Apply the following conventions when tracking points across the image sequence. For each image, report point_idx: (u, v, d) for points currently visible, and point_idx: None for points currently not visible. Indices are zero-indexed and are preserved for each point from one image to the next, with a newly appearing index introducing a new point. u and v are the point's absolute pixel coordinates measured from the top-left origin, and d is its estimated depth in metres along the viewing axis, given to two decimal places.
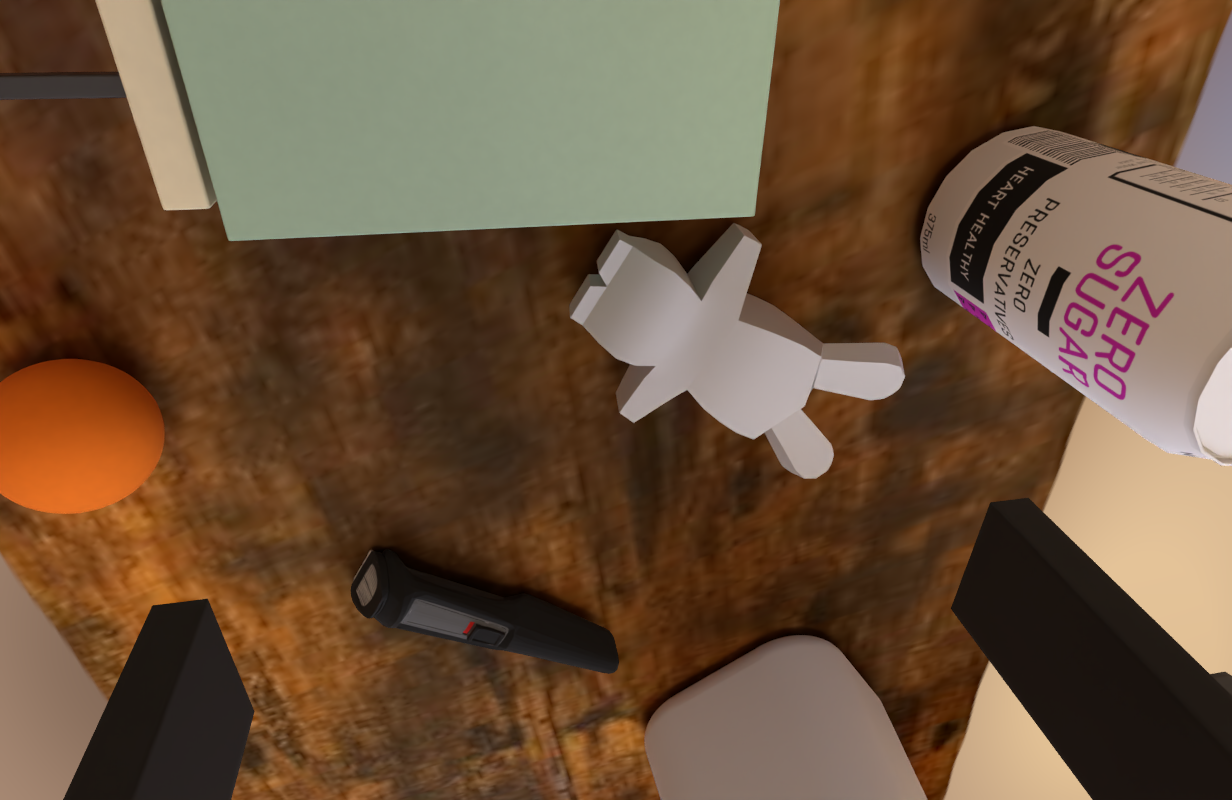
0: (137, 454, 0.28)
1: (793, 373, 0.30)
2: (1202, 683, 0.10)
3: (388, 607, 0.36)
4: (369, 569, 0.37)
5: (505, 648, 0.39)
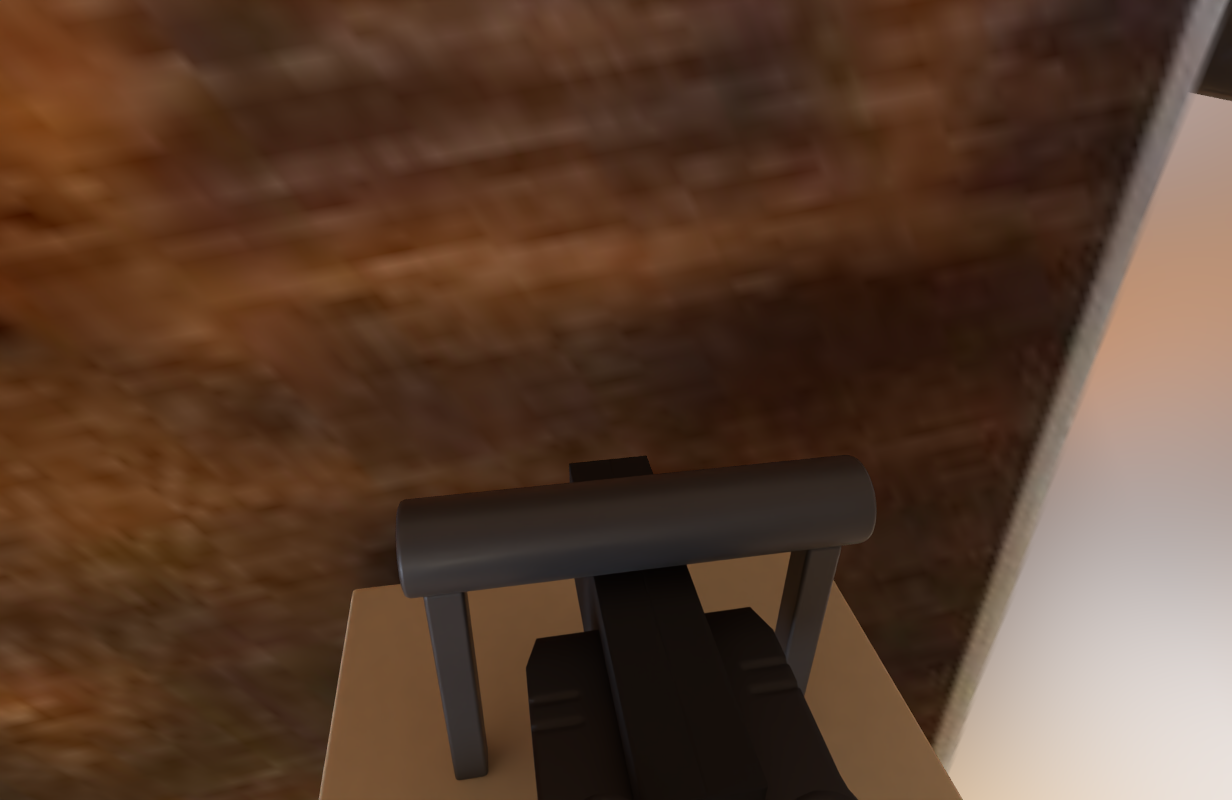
0: None
1: None
2: (686, 611, 0.11)
3: None
4: None
5: None
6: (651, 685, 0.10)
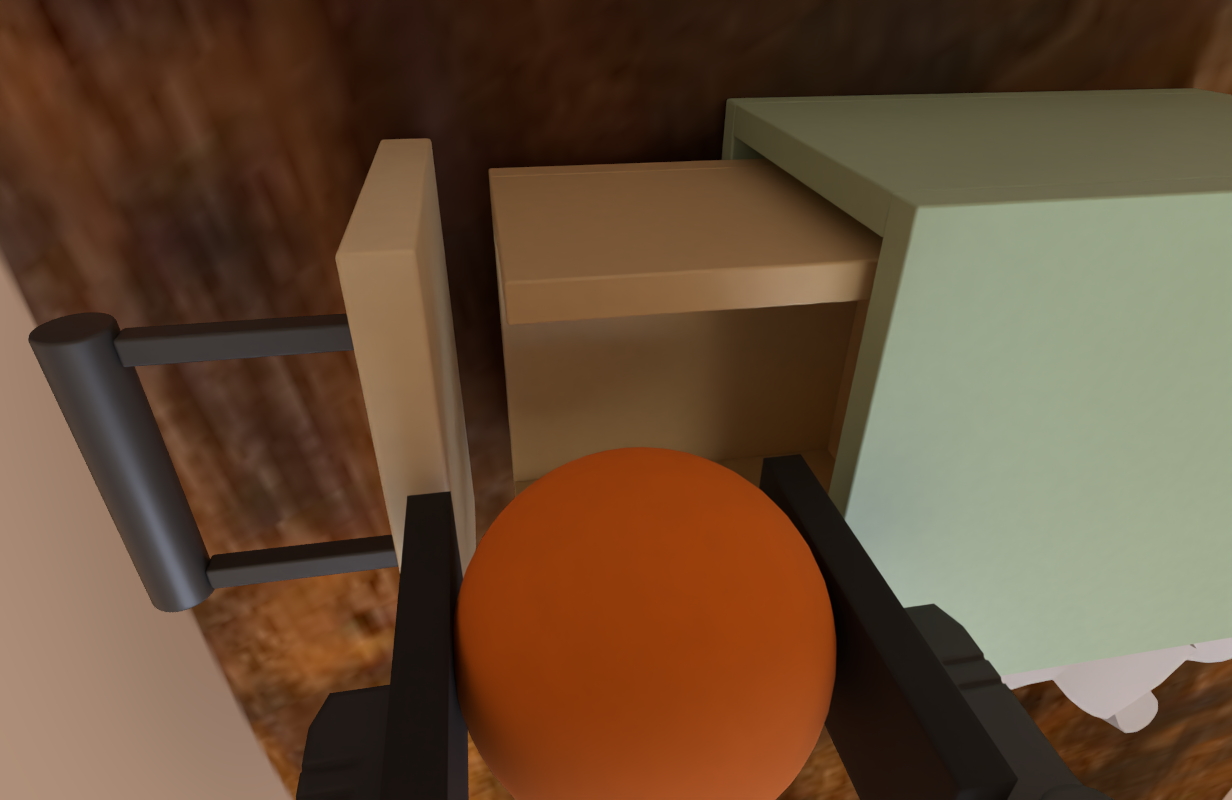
0: None
1: (1166, 665, 0.29)
2: (887, 608, 0.11)
3: None
4: None
5: None
6: (421, 754, 0.09)
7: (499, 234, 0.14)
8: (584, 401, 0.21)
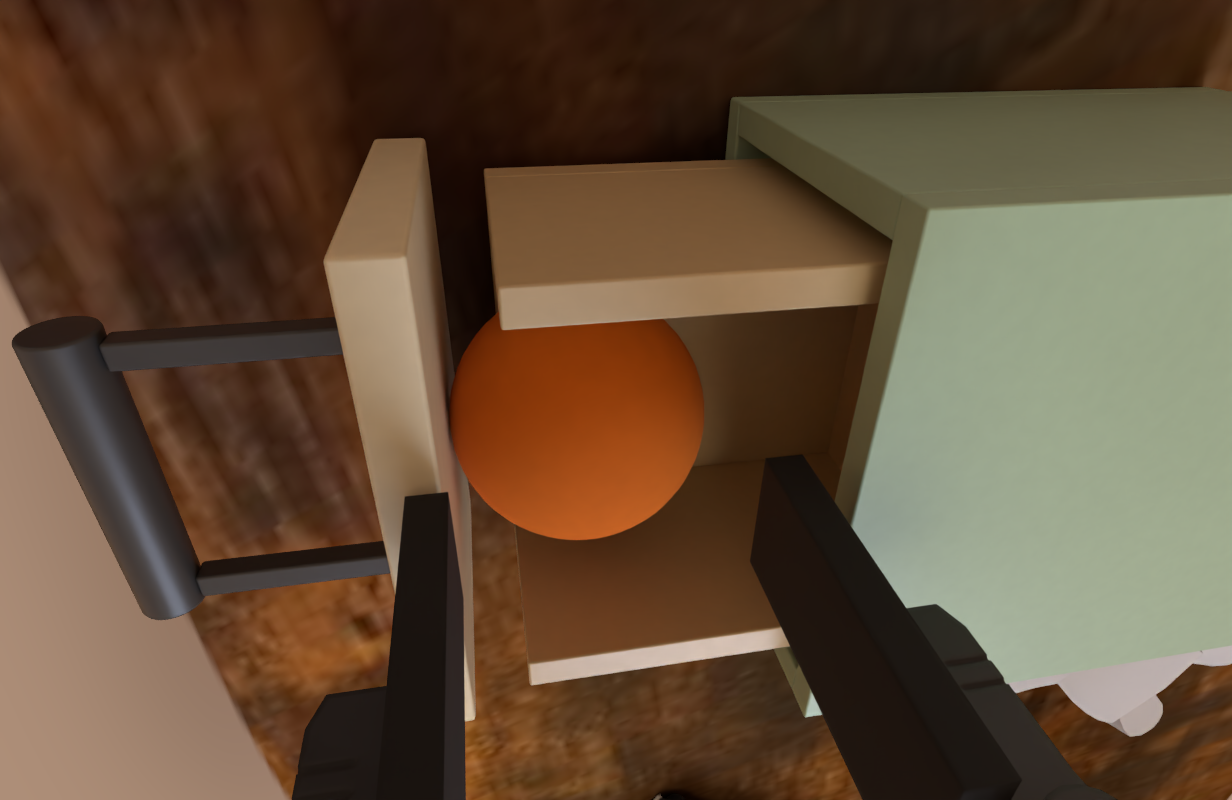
0: (697, 448, 0.16)
1: (1172, 669, 0.29)
2: (890, 608, 0.11)
3: None
4: None
5: None
6: (417, 756, 0.09)
7: (493, 236, 0.13)
8: None
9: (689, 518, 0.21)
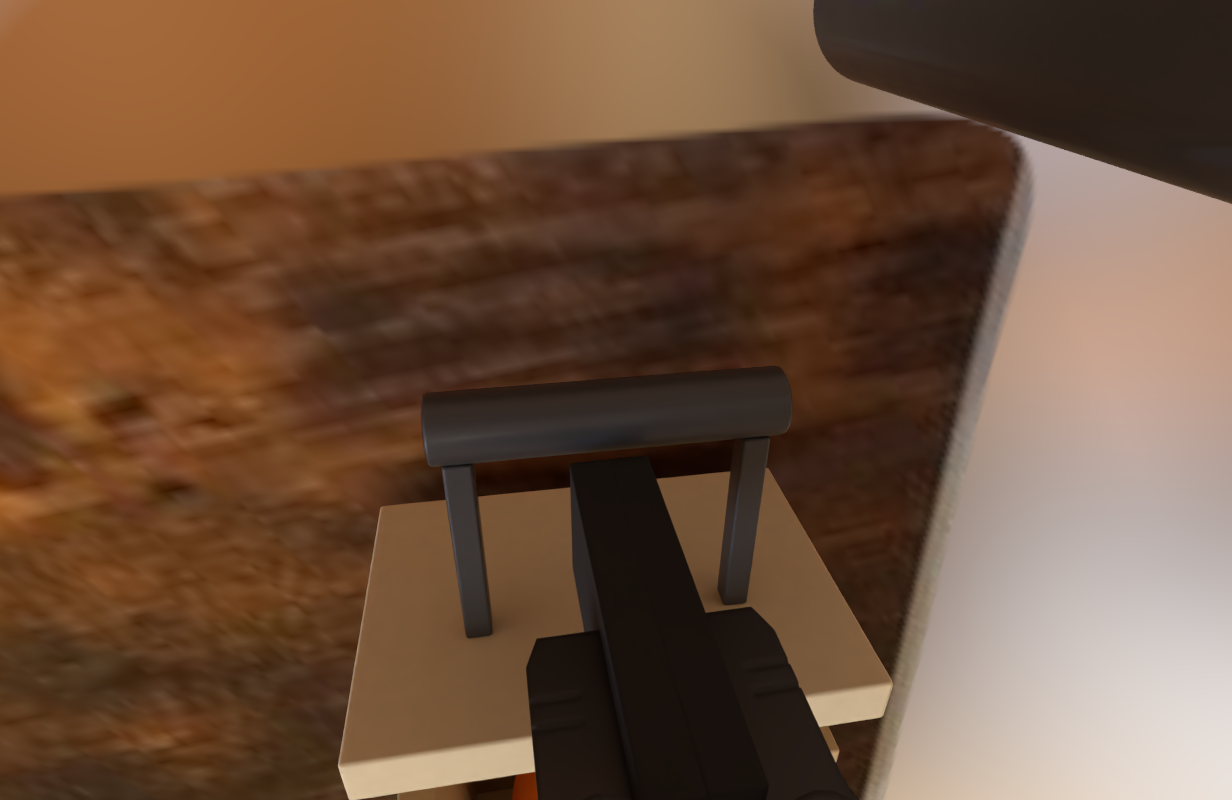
0: None
1: None
2: (688, 611, 0.11)
3: None
4: None
5: None
6: (651, 685, 0.09)
7: None
8: None
9: None
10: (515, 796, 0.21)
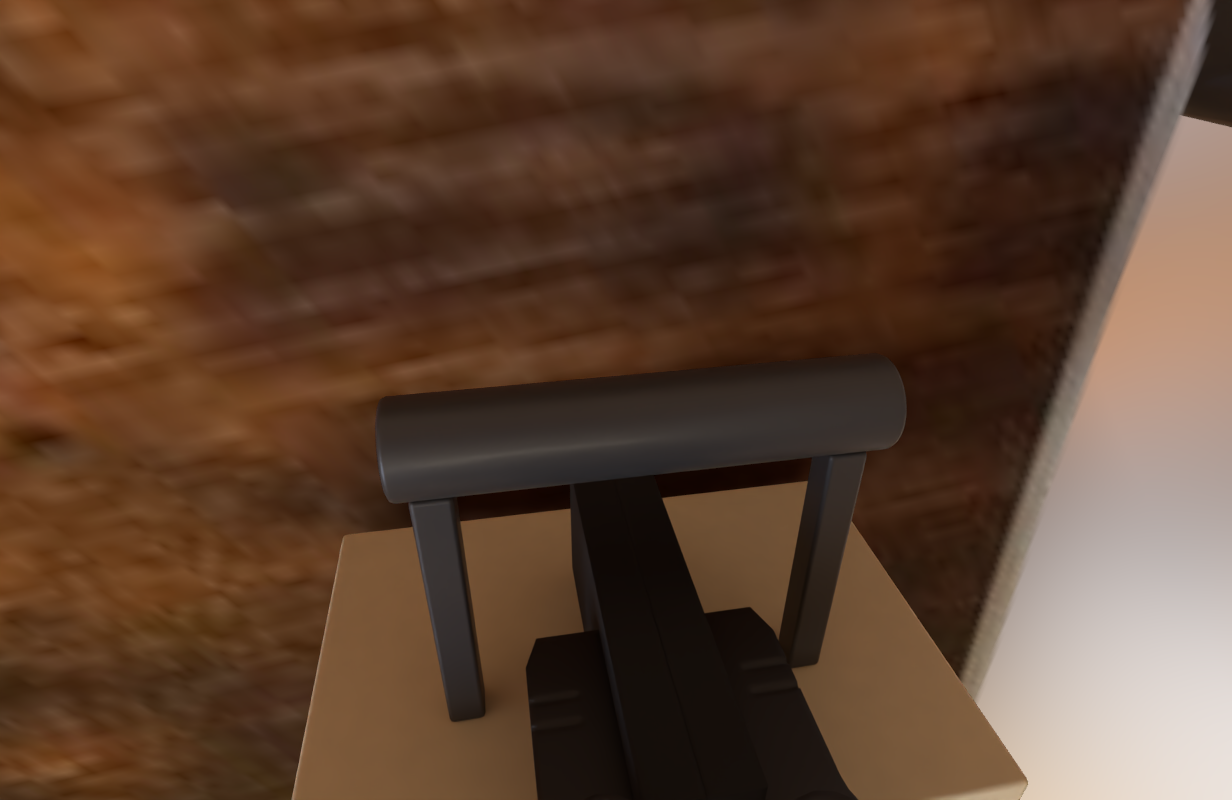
0: None
1: None
2: (686, 611, 0.11)
3: None
4: None
5: None
6: (651, 685, 0.10)
7: None
8: None
9: None
10: None
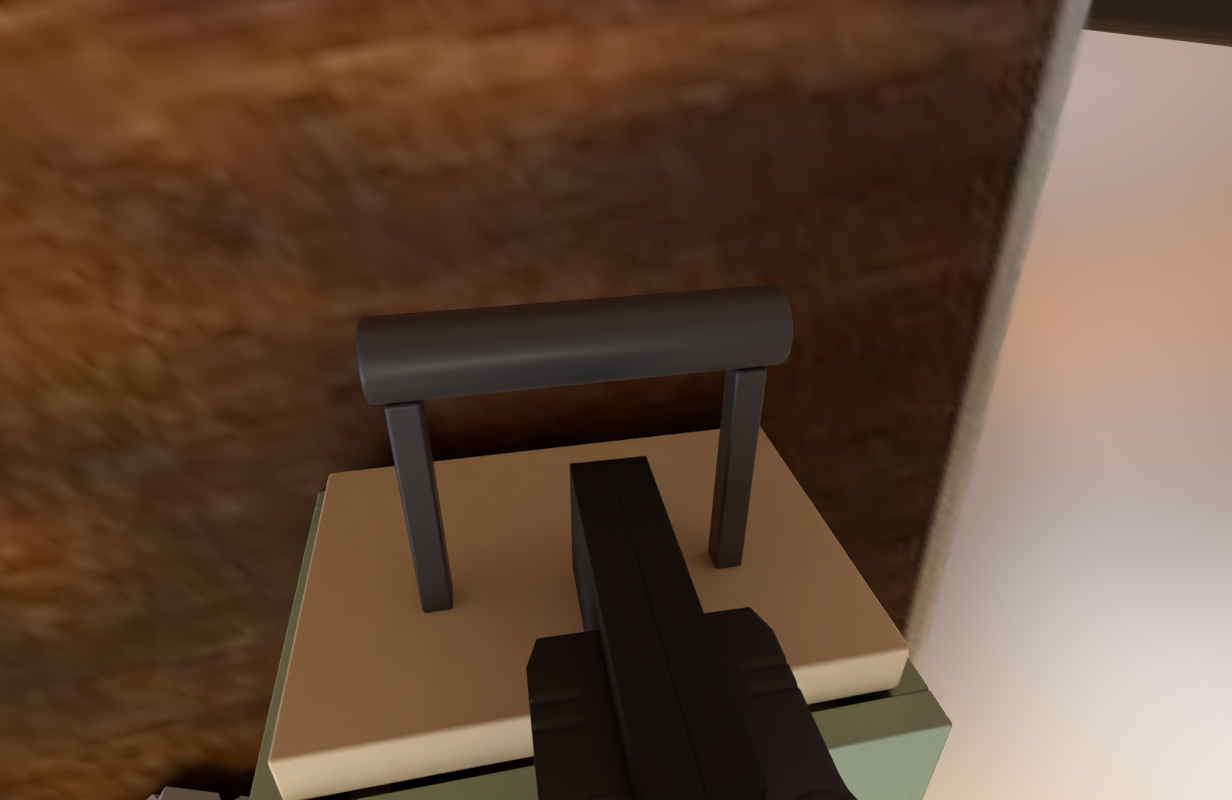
0: None
1: None
2: (686, 611, 0.11)
3: None
4: None
5: None
6: (652, 685, 0.10)
7: None
8: None
9: None
10: None
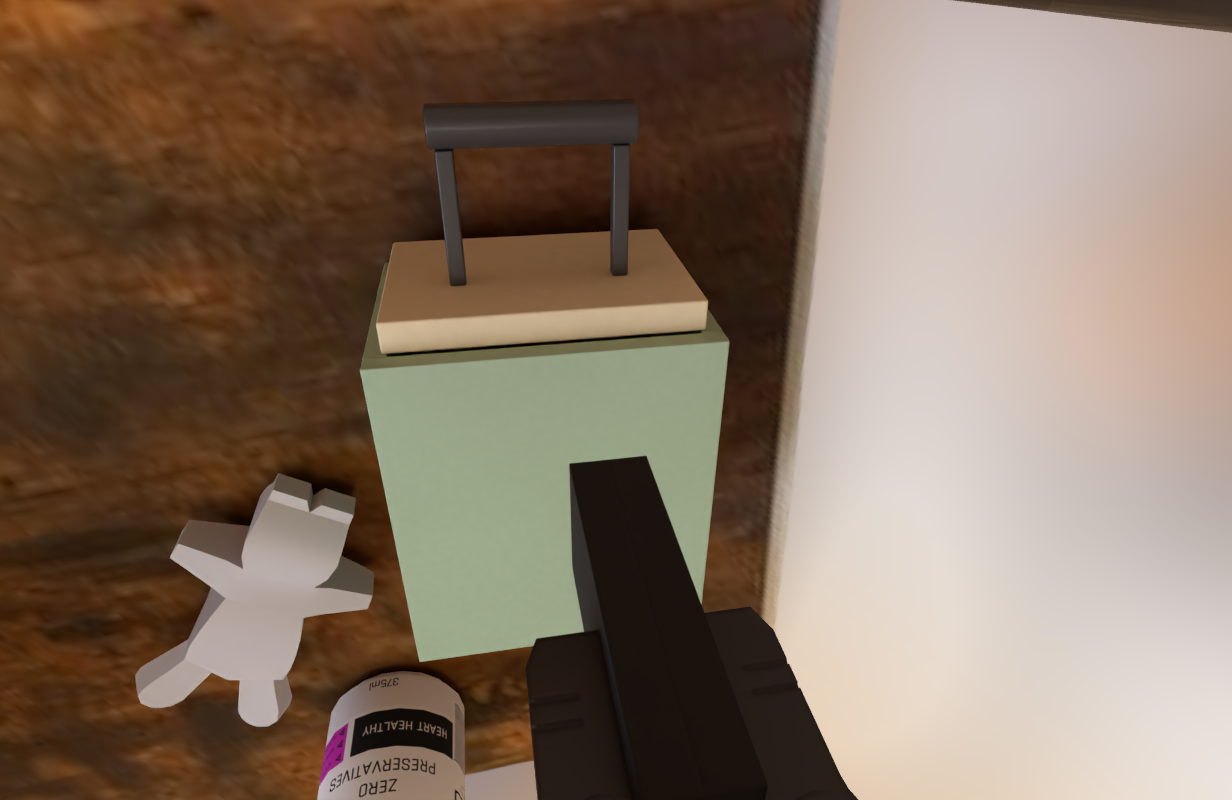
0: None
1: (262, 668, 0.36)
2: (686, 611, 0.11)
3: None
4: None
5: None
6: (651, 685, 0.09)
7: None
8: (502, 346, 0.32)
9: None
10: None
